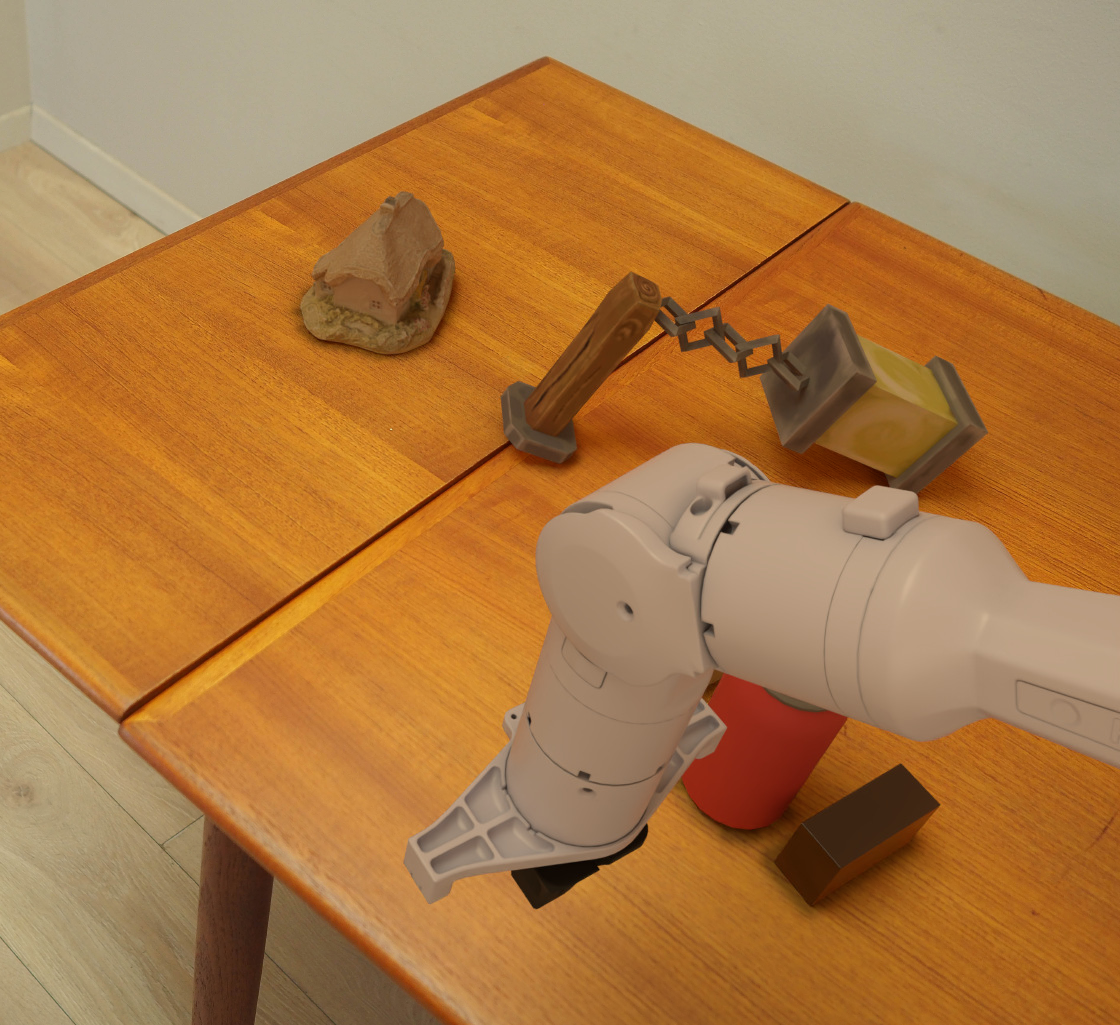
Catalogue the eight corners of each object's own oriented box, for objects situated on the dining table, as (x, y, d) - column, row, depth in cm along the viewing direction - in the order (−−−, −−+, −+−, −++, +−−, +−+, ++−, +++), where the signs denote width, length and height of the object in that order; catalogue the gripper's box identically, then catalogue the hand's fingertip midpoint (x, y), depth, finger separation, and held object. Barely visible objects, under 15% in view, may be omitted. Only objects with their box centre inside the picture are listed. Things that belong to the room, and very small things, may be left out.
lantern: (803, 503, 99) (499, 381, 88) (953, 363, 88) (626, 206, 78) (826, 571, 94) (505, 451, 83) (988, 432, 83) (643, 273, 72)
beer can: (657, 752, 69) (716, 630, 61) (747, 723, 72) (817, 601, 63) (715, 849, 65) (787, 732, 57) (809, 814, 68) (892, 697, 59)
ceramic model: (406, 375, 91) (420, 267, 83) (279, 326, 93) (283, 218, 86) (473, 284, 100) (492, 181, 93) (357, 243, 102) (366, 139, 95)
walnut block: (907, 843, 67) (941, 804, 64) (810, 906, 64) (840, 868, 61) (870, 802, 69) (901, 762, 66) (773, 861, 65) (801, 822, 62)
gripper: (681, 576, 48) (606, 752, 58) (377, 711, 42) (351, 882, 52) (798, 704, 44) (697, 869, 54) (484, 873, 38) (434, 1025, 48)
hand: (534, 884), depth 53 cm, fingers closed
